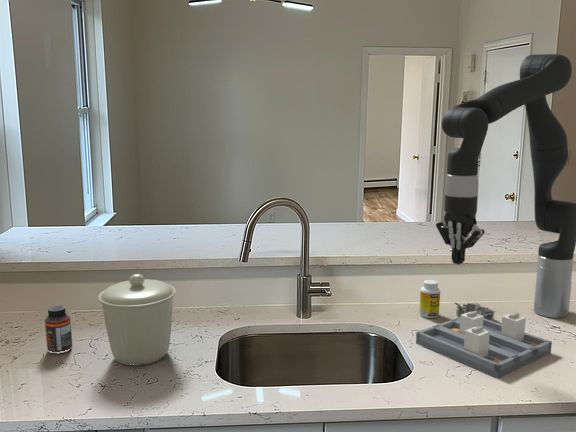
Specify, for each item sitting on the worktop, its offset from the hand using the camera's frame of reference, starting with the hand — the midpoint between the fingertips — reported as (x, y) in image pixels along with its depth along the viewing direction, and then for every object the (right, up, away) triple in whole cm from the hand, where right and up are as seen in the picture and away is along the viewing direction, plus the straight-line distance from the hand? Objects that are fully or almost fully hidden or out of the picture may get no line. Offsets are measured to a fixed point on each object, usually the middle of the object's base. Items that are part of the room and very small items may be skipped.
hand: (457, 263), depth 141 cm
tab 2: (+4, -22, -2) cm, 22 cm away
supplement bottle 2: (0, -18, +28) cm, 33 cm away
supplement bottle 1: (-99, -23, +6) cm, 102 cm away
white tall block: (+6, -20, +8) cm, 22 cm away
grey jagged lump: (+12, -18, +25) cm, 34 cm away
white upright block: (+16, -20, +6) cm, 26 cm away
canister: (-77, -23, +2) cm, 81 cm away
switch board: (+8, -22, +5) cm, 24 cm away
